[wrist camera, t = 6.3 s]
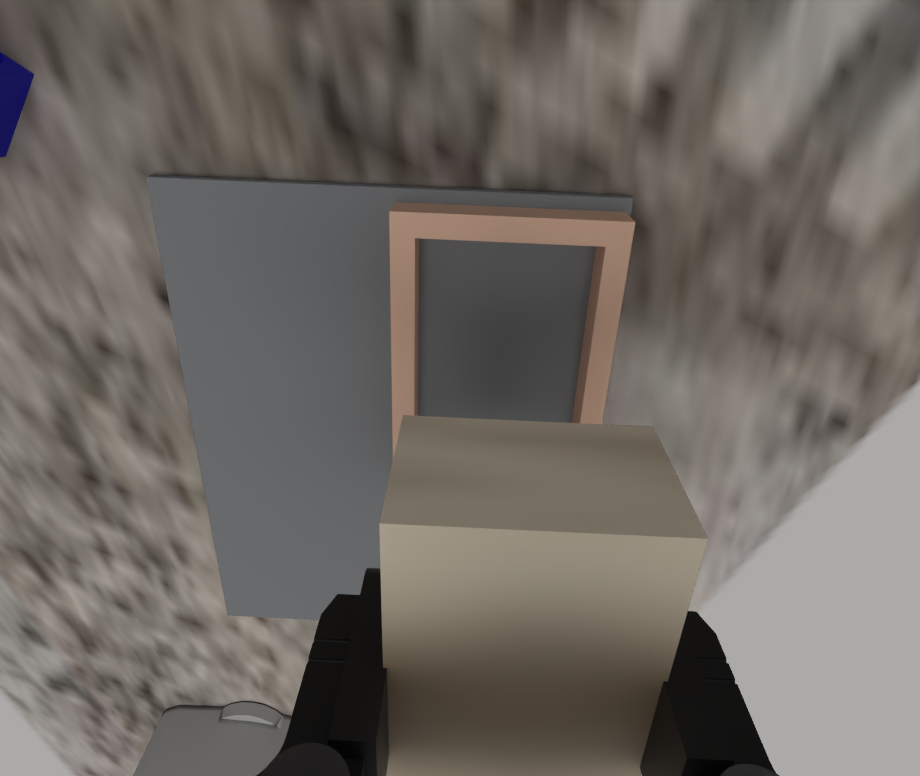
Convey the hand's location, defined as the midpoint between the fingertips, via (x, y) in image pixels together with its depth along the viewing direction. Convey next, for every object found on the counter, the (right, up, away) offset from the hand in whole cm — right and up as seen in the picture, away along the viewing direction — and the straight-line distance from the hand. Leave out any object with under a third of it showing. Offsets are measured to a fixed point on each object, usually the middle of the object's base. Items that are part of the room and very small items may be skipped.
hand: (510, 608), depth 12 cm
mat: (-4, +2, +13) cm, 14 cm away
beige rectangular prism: (0, 0, +1) cm, 1 cm away
